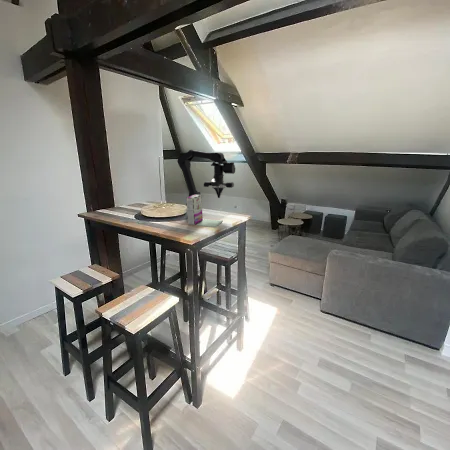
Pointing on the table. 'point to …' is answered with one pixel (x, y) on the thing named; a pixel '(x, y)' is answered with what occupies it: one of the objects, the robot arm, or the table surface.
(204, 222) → the mat
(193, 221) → the candy bar box
